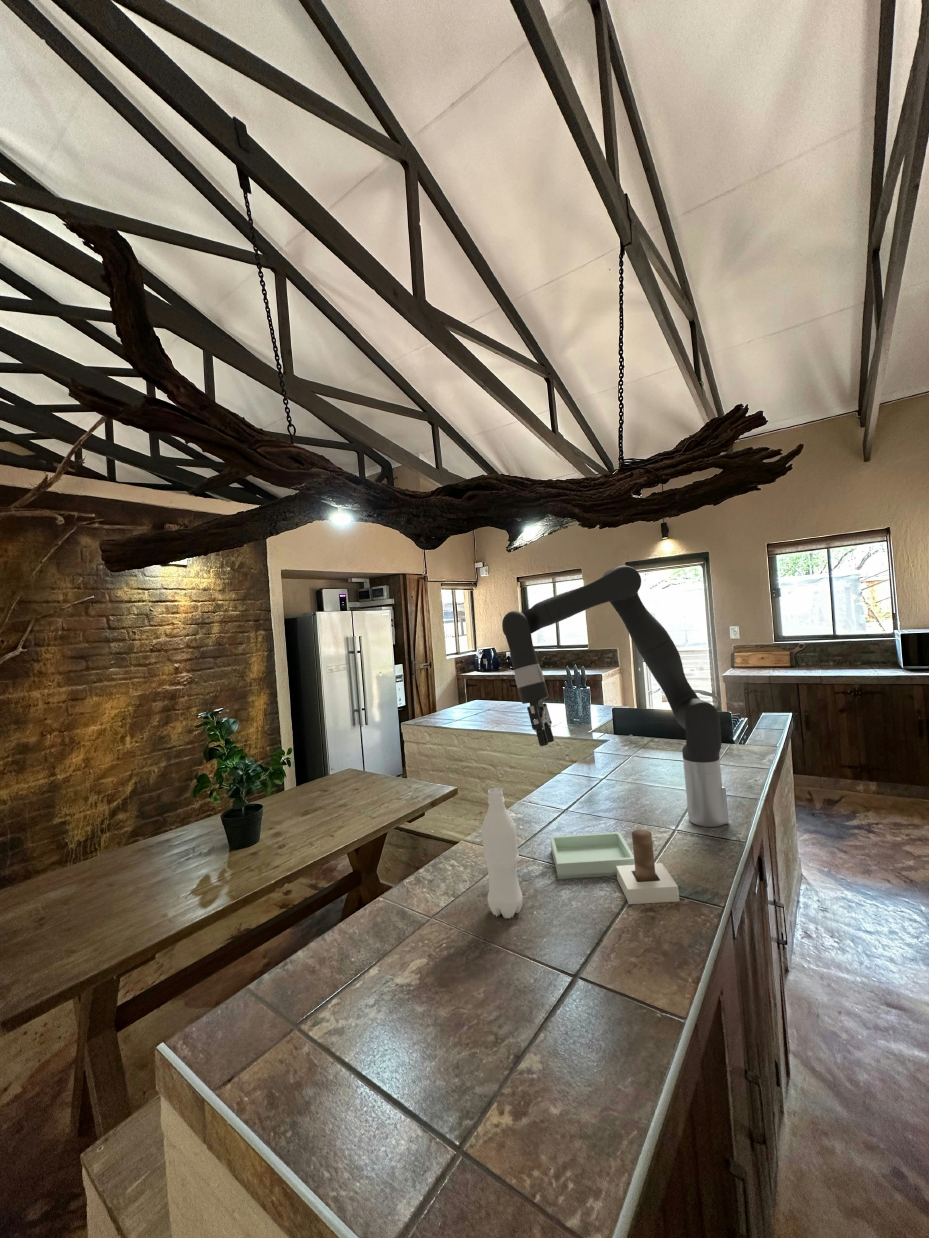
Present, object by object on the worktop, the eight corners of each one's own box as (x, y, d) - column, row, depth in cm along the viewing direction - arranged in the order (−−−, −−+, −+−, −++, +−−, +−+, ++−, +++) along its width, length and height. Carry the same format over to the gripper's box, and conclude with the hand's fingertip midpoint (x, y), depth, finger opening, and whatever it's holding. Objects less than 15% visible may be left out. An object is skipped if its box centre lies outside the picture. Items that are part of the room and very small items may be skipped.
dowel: (653, 884, 110) (648, 828, 110) (659, 894, 106) (654, 836, 106) (634, 885, 110) (629, 830, 110) (640, 895, 106) (634, 837, 106)
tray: (620, 845, 130) (619, 832, 130) (637, 874, 115) (635, 858, 115) (551, 850, 131) (550, 836, 131) (558, 879, 116) (557, 863, 116)
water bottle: (483, 917, 103) (471, 794, 104) (497, 899, 110) (486, 783, 110) (515, 924, 100) (504, 797, 100) (528, 905, 106) (517, 785, 107)
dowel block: (663, 876, 113) (661, 862, 113) (679, 901, 103) (678, 886, 103) (617, 879, 114) (616, 865, 114) (629, 904, 104) (627, 889, 104)
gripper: (538, 679, 130) (556, 743, 126) (549, 680, 143) (565, 737, 140) (511, 687, 132) (528, 750, 128) (523, 687, 145) (539, 744, 142)
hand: (547, 743), depth 134 cm, fingers open, 8 cm apart
